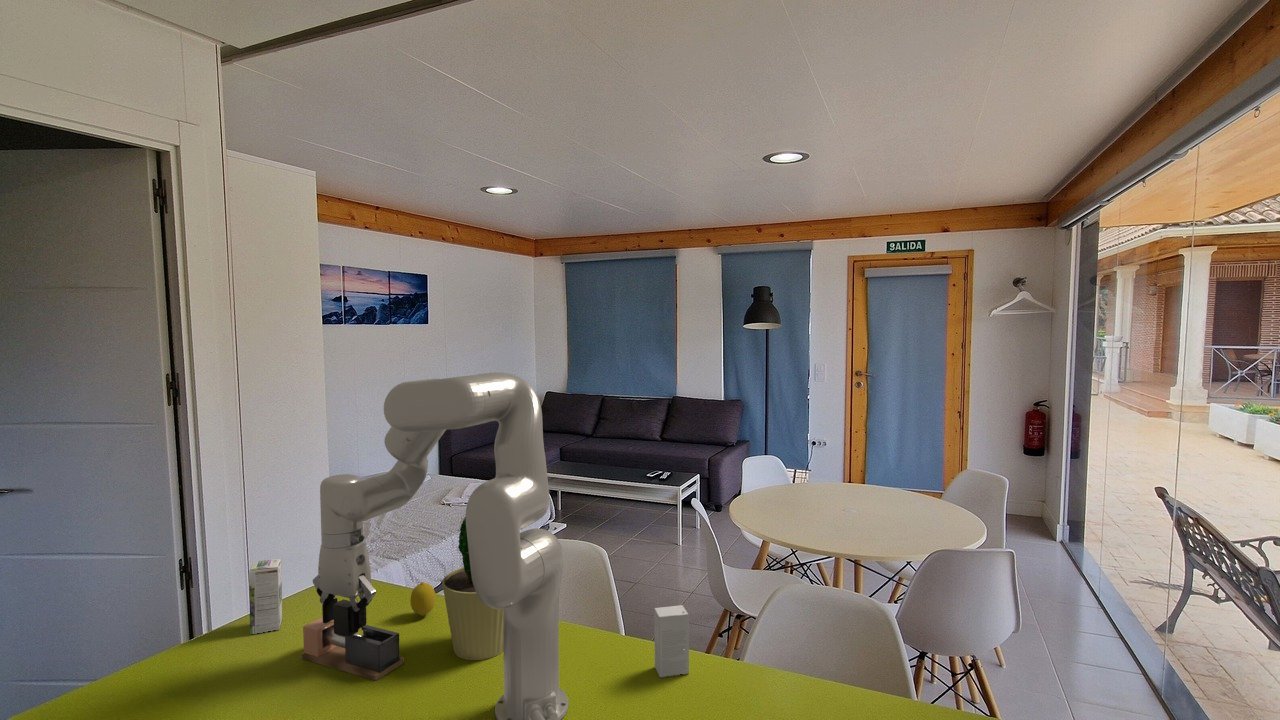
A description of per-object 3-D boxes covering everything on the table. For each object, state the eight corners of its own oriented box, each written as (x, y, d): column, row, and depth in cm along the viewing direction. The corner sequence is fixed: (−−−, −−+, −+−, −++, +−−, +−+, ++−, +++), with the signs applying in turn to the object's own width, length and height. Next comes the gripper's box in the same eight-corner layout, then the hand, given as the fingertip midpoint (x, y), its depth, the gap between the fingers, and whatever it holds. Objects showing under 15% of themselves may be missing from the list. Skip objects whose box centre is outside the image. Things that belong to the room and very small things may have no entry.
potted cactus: (475, 674, 120) (473, 521, 119) (427, 650, 130) (425, 507, 128) (534, 642, 133) (532, 503, 131) (487, 622, 142) (485, 491, 140)
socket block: (342, 642, 131) (342, 617, 130) (318, 656, 125) (317, 630, 125) (329, 639, 132) (328, 613, 132) (303, 652, 127) (303, 626, 126)
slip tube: (366, 647, 126) (365, 603, 126) (354, 654, 123) (352, 609, 123) (326, 636, 130) (325, 594, 130) (313, 643, 128) (312, 600, 127)
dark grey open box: (399, 660, 124) (399, 633, 124) (380, 673, 119) (379, 644, 119) (365, 650, 127) (365, 624, 127) (345, 663, 123) (344, 635, 123)
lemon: (428, 622, 142) (427, 588, 141) (405, 620, 143) (405, 586, 142) (440, 611, 147) (439, 578, 147) (419, 609, 148) (418, 576, 148)
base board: (403, 662, 125) (403, 657, 125) (376, 680, 118) (376, 675, 118) (331, 642, 133) (331, 638, 133) (301, 658, 126) (301, 653, 126)
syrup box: (253, 624, 141) (251, 561, 140) (283, 619, 143) (281, 557, 143) (249, 635, 136) (247, 570, 135) (281, 630, 138) (279, 566, 138)
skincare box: (683, 663, 125) (683, 604, 124) (689, 674, 121) (689, 614, 120) (653, 666, 123) (653, 607, 123) (658, 678, 119) (658, 617, 119)
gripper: (389, 537, 125) (391, 624, 126) (327, 526, 132) (329, 608, 133) (359, 549, 118) (361, 641, 119) (295, 537, 125) (297, 624, 126)
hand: (344, 623), depth 126 cm, fingers open, 7 cm apart
